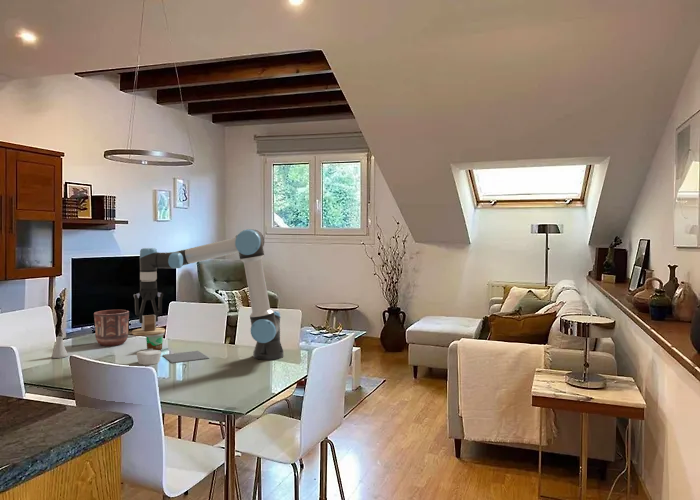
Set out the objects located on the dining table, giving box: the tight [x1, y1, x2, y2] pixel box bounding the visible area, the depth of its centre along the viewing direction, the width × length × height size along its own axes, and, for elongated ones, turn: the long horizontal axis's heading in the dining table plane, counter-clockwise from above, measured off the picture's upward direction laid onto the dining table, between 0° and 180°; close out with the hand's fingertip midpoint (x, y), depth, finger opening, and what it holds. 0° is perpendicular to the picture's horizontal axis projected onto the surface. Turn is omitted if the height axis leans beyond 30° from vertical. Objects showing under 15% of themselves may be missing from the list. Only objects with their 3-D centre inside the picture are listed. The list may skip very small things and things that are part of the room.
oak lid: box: [131, 314, 166, 337], centre depth 259 cm, size 15×15×8 cm
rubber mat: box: [162, 350, 210, 364], centre depth 271 cm, size 18×18×1 cm
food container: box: [145, 333, 165, 351], centre depth 286 cm, size 12×6×10 cm, turn 168°
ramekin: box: [136, 349, 162, 366], centre depth 259 cm, size 11×11×5 cm
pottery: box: [93, 309, 130, 347], centre depth 300 cm, size 18×18×18 cm
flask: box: [51, 336, 69, 359], centre depth 270 cm, size 7×7×10 cm
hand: (148, 329), depth 259 cm, fingers closed on oak lid, 4 cm apart
